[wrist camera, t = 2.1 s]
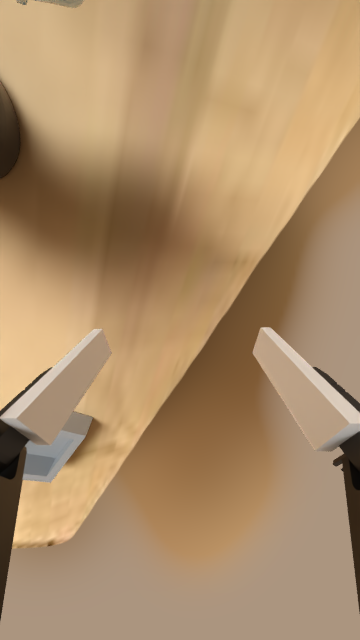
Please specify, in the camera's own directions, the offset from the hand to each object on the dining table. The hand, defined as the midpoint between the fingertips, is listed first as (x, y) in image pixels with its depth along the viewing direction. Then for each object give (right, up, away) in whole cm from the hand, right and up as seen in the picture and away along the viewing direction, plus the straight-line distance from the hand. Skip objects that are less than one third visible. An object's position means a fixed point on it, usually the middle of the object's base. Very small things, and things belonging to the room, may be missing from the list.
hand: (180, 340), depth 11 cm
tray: (-29, -22, +17) cm, 40 cm away
